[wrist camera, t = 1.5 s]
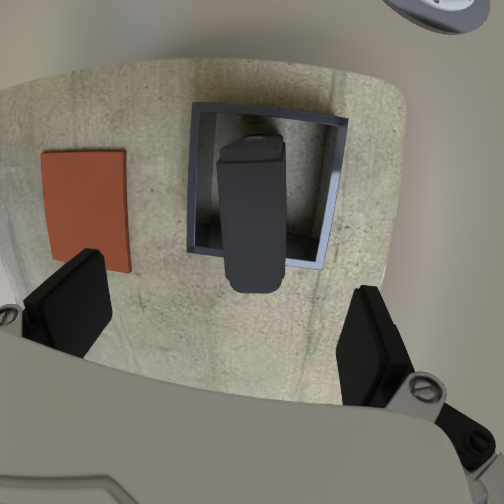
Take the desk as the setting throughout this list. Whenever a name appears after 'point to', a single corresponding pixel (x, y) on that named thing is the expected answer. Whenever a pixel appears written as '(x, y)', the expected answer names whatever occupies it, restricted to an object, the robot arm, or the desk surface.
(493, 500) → the robot arm
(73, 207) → the mat
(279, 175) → the card reader
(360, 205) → the desk surface
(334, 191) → the grey open bin
